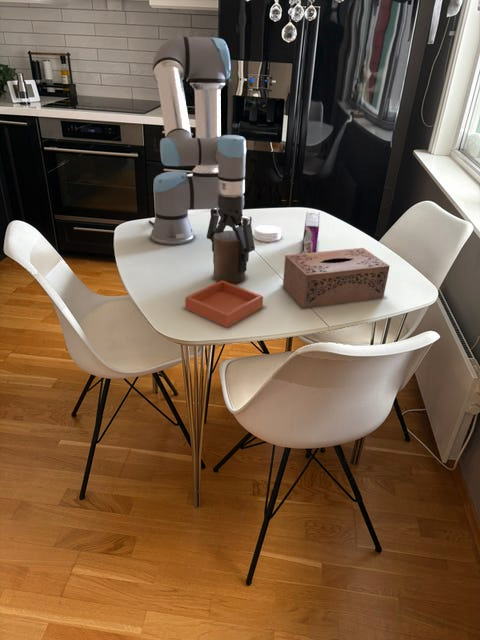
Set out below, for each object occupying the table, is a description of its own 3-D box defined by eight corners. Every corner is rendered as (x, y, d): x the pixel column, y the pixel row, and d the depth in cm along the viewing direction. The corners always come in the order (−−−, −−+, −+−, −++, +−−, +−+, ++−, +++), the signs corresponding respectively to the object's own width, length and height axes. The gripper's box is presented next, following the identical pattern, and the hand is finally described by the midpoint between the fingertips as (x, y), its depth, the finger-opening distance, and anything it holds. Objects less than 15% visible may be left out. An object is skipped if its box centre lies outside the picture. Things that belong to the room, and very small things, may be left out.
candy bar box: (300, 256, 167) (303, 240, 181) (315, 257, 166) (316, 241, 181) (304, 224, 161) (306, 211, 176) (319, 226, 161) (320, 212, 175)
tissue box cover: (302, 308, 134) (306, 275, 129) (282, 286, 146) (285, 255, 141) (383, 297, 141) (389, 265, 136) (358, 277, 153) (363, 247, 148)
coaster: (261, 243, 176) (261, 234, 175) (249, 234, 184) (250, 225, 183) (285, 240, 180) (285, 231, 178) (273, 231, 188) (273, 223, 186)
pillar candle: (239, 286, 145) (240, 238, 137) (208, 281, 147) (208, 234, 140) (248, 274, 153) (251, 228, 145) (220, 269, 155) (220, 224, 148)
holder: (185, 308, 132) (185, 297, 130) (221, 290, 142) (222, 280, 140) (227, 327, 123) (227, 315, 122) (262, 307, 134) (263, 296, 132)
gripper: (193, 189, 141) (194, 260, 152) (253, 204, 129) (250, 281, 140) (211, 184, 146) (211, 254, 157) (270, 199, 134) (265, 273, 145)
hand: (229, 266), depth 148 cm, fingers closed on pillar candle, 10 cm apart
